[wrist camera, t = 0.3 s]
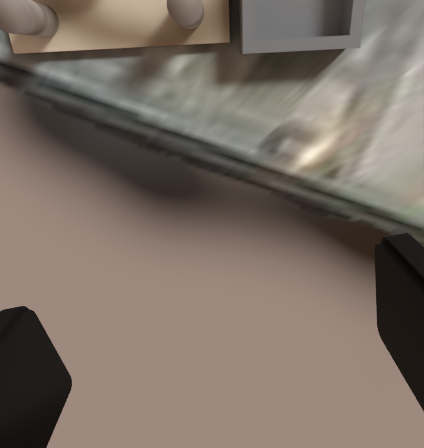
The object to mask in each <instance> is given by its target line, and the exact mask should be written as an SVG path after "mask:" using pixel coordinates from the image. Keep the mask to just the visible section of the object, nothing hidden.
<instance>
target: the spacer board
mask: <svg viewBox="0 0 424 448" xmlns="http://www.w3.org/2000/svg"><path fill="white" fill-rule="evenodd" d="M0 28H1V29H2V30H4V31H5V32H7V33H9V37H10V41H11V44H12V48H13V52H14V54H22V53H41V52H60V51H79V50H98V49H117V48H136V47H155V46H174V45H193V44H212V43H229V42H230V32H229V0H0Z"/></svg>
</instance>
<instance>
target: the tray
mask: <svg viewBox="0 0 424 448" xmlns="http://www.w3.org/2000/svg"><path fill="white" fill-rule="evenodd" d="M365 2H366V0H240V54H251V53H270V52H289V51H309V50H328V49H347V48H360V44H361V36H362V27H363V19H364V11H365Z"/></svg>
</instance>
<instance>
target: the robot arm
mask: <svg viewBox="0 0 424 448" xmlns="http://www.w3.org/2000/svg"><path fill="white" fill-rule="evenodd" d="M375 272H376V273H375V274H376V305H377V327H378V331H379V335H380V337H381V339H382V341H383V343H384V344H385V346H386V347H387V350H388V351H389V352H390V355H391V356H392V358H393V360H394V361H395V363H396V365H397V366H398V368H399V370H400V372H401V373H402V375H403V377H404V378H405V380H406V382H407V383H408V385H409V387H410V389H411V390H412V392H413V394H414V395H415V397H416V399H417V401H418V402H419V404H420V406H421V407H422V409H423V411H424V247H423V246H422V245H421V244H420V243H418V242H417V241H416V240H415V239H414V238H413V237H412V236H411V235H410V234H408V233H404V234H398V235H393V236H388V237H383V238H382V241H381V244H377V245H375ZM71 387H72V380H71V376H70V374H69V372H68V371H67V369H66V367H65V365H64V364H63V362H62V360H61V358H60V356H59V355H58V353H57V351H56V349H55V347H54V346H53V344H52V342H51V340H50V338H49V337H48V335H47V333H46V331H45V330H44V328H43V326H42V324H41V322H40V321H39V319H38V317H37V315H36V314H35V312H34V311H32V310H29V309H28V308H27V307H25V306H20V307H15V308H10V309H5V310H2V311H1V312H0V448H46V447H47V445H48V442H49V440H50V437H51V435H52V433H53V431H54V428H55V426H56V423H57V421H58V419H59V416H60V414H61V412H62V409H63V407H64V405H65V402H66V400H67V398H68V395H69V393H70V391H71Z"/></svg>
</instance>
